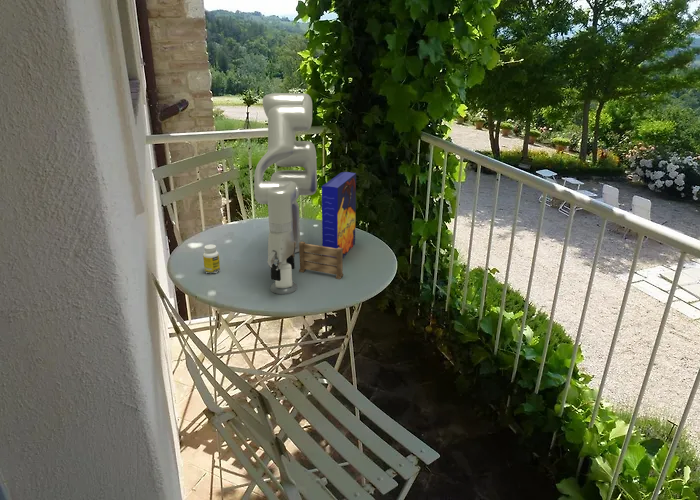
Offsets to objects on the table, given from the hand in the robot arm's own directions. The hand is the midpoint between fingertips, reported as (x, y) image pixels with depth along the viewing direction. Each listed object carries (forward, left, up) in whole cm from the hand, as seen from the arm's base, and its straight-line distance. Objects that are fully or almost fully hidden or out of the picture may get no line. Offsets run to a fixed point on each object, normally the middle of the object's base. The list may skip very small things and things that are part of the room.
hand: (283, 274), depth 167 cm
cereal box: (+6, +35, -6) cm, 36 cm away
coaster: (0, 0, -5) cm, 5 cm away
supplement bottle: (-30, +2, -6) cm, 31 cm away
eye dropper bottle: (0, 0, -5) cm, 5 cm away
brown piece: (+7, +15, -5) cm, 17 cm away
